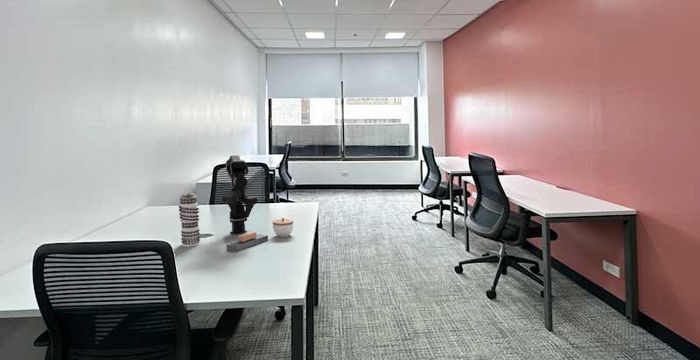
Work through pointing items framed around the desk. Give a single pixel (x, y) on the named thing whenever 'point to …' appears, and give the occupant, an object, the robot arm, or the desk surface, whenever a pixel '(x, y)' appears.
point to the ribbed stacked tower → (189, 219)
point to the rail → (246, 243)
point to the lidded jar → (283, 227)
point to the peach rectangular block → (247, 236)
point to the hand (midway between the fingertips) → (240, 216)
